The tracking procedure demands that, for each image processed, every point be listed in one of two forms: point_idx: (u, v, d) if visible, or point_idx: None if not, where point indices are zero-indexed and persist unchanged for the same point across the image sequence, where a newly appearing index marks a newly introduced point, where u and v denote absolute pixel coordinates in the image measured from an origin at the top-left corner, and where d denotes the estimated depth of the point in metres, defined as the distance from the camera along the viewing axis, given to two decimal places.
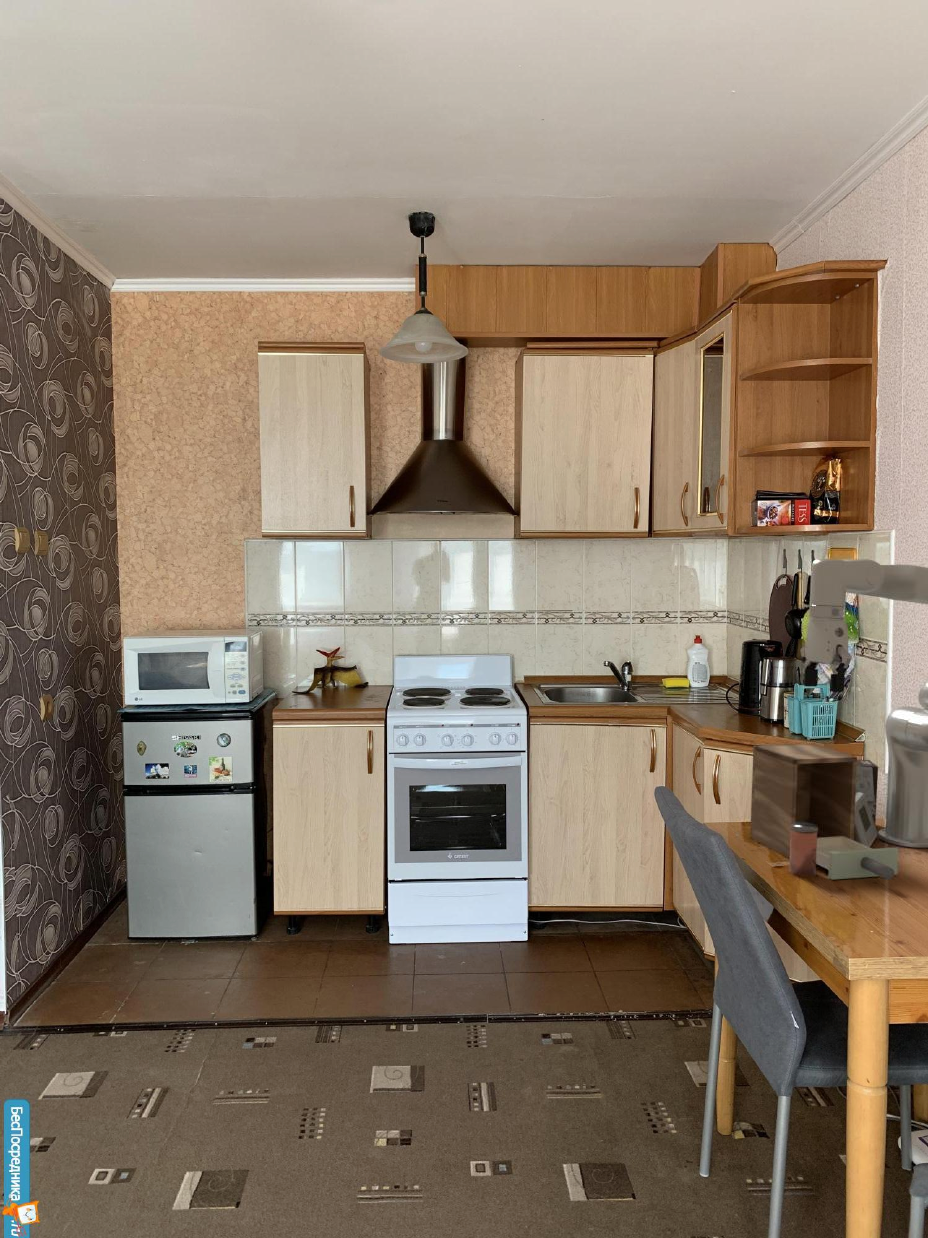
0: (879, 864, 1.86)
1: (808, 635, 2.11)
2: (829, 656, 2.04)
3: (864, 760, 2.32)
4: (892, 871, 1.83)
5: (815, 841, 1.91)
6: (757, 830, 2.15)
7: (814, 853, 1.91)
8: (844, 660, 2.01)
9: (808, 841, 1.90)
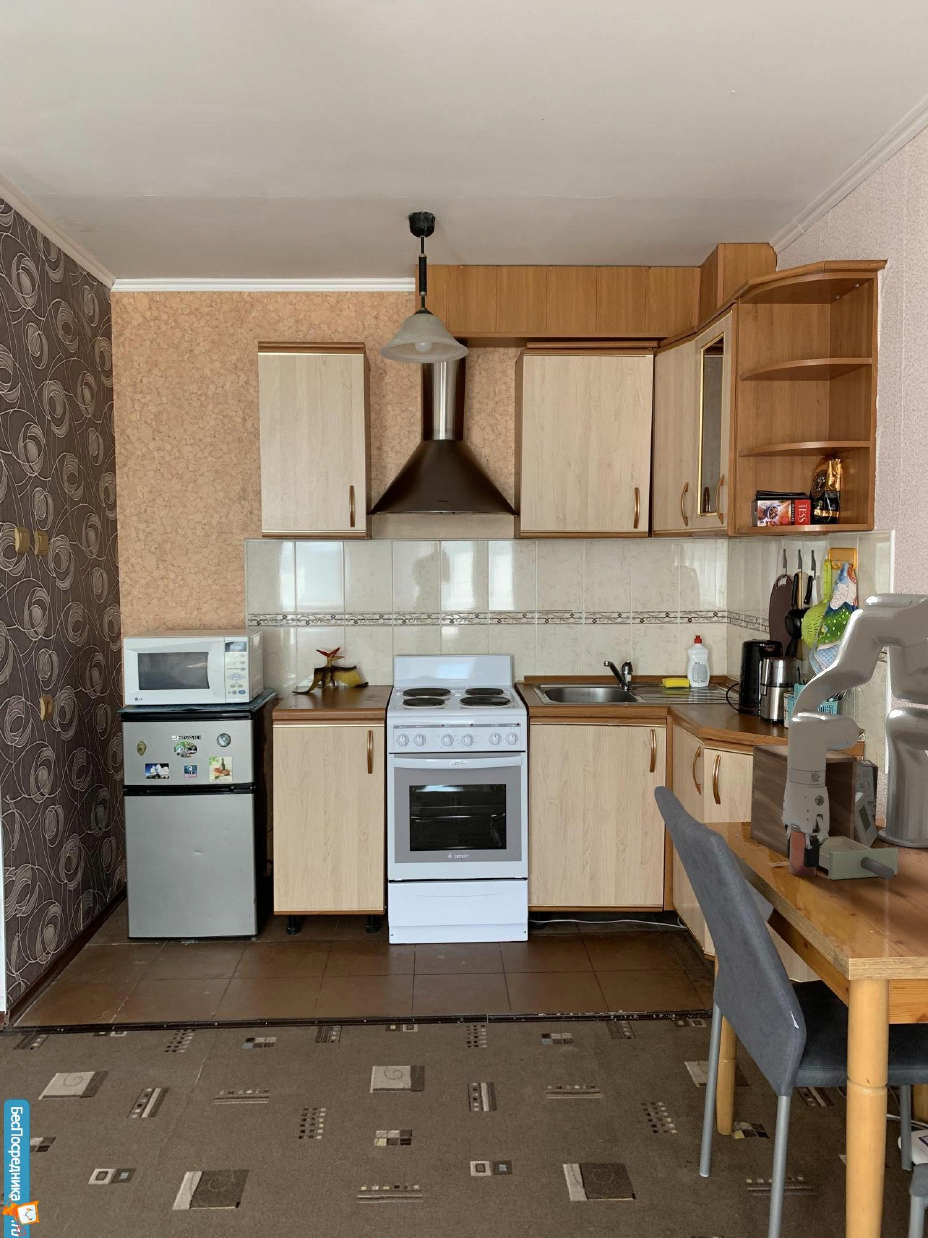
0: (879, 864, 1.86)
1: (786, 797, 1.95)
2: (808, 826, 1.87)
3: (864, 760, 2.32)
4: (892, 871, 1.83)
5: None
6: (757, 830, 2.15)
7: None
8: (820, 838, 1.86)
9: None
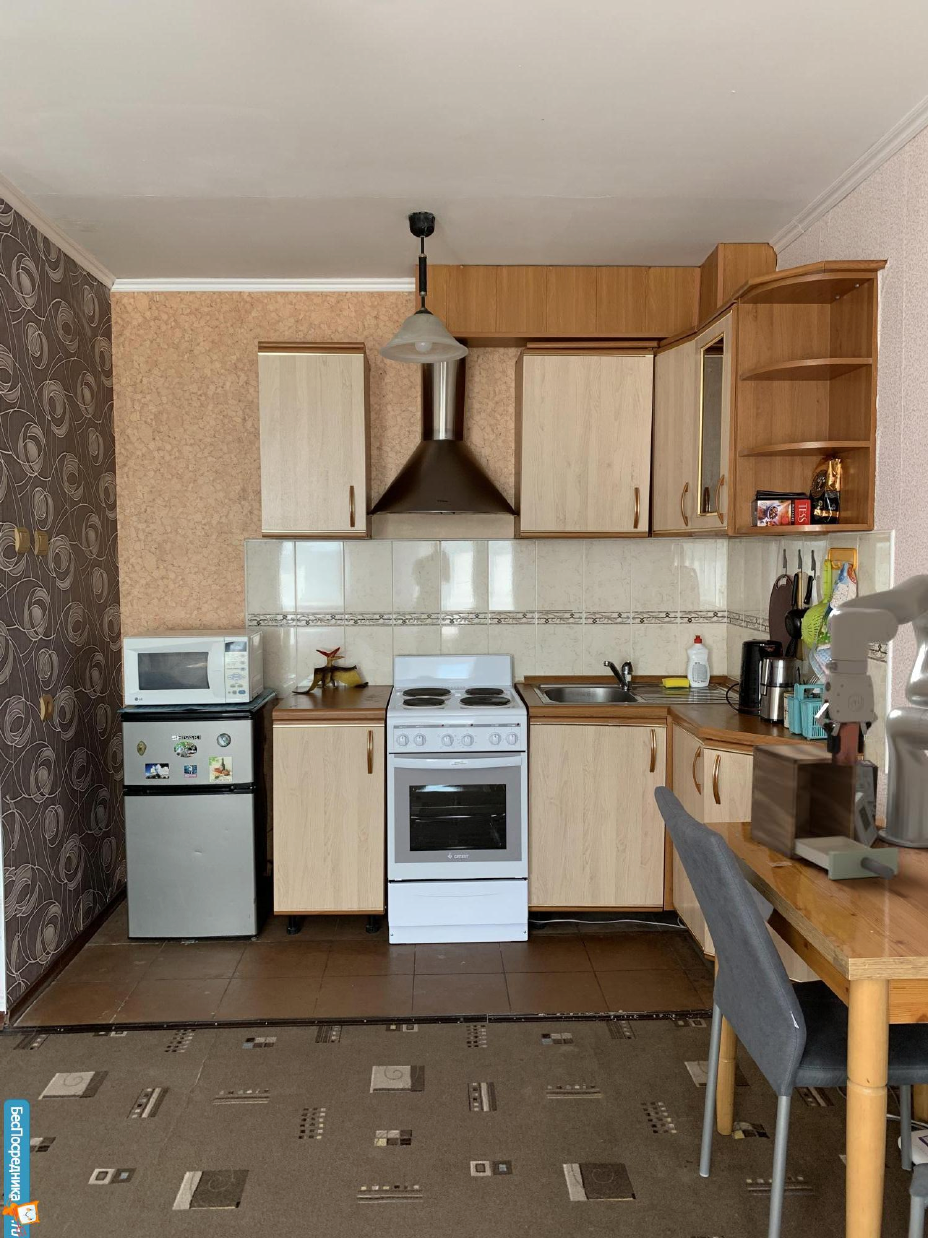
0: (879, 864, 1.86)
1: None
2: None
3: (864, 760, 2.32)
4: (892, 871, 1.83)
5: (840, 730, 1.95)
6: (757, 830, 2.15)
7: None
8: None
9: None
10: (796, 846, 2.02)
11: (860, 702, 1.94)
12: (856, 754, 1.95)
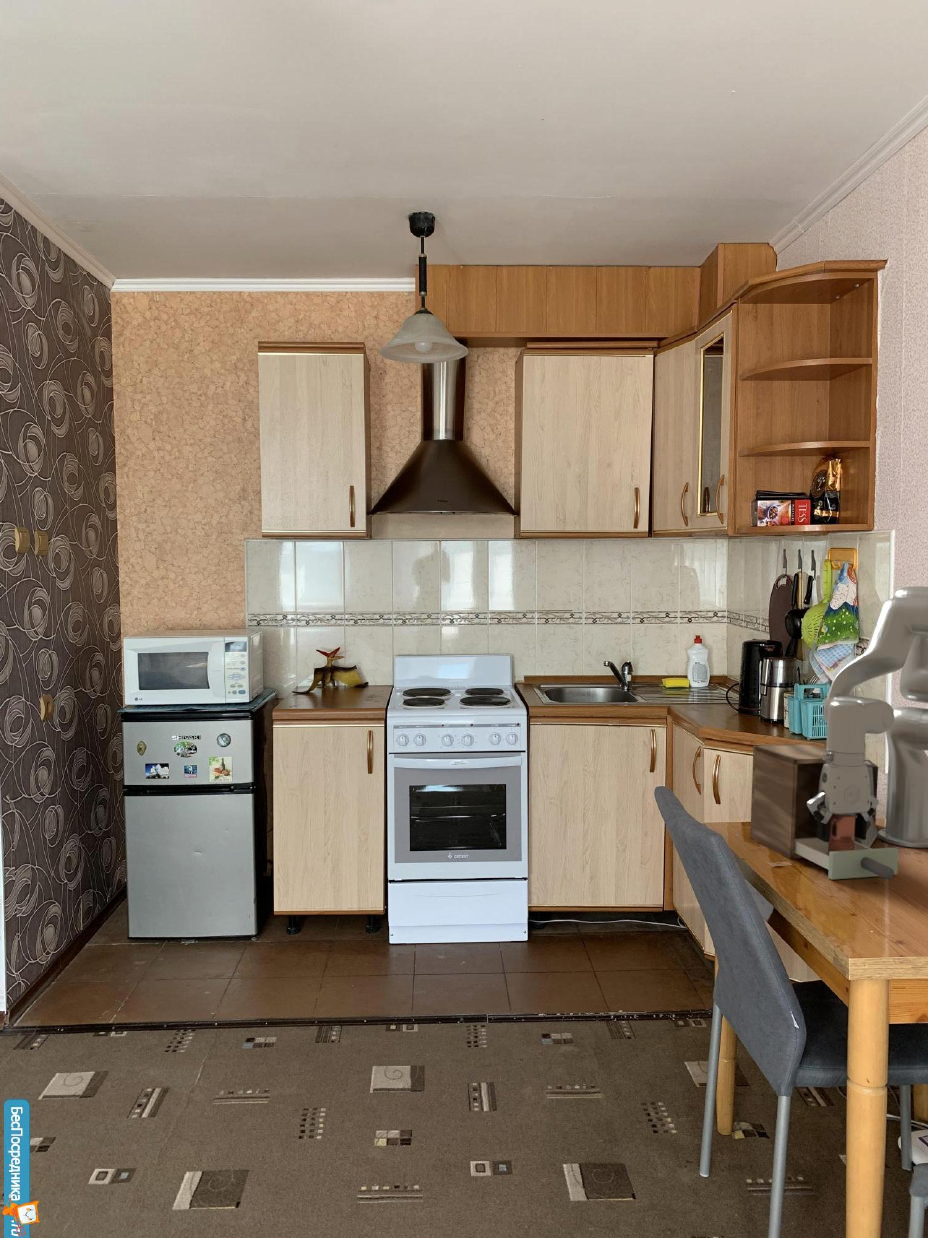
0: (879, 864, 1.86)
1: None
2: None
3: (864, 760, 2.32)
4: (892, 871, 1.84)
5: (836, 824, 1.96)
6: (757, 830, 2.15)
7: (835, 835, 1.96)
8: None
9: (830, 821, 1.97)
10: (796, 846, 2.02)
11: (856, 794, 1.95)
12: (852, 847, 1.96)
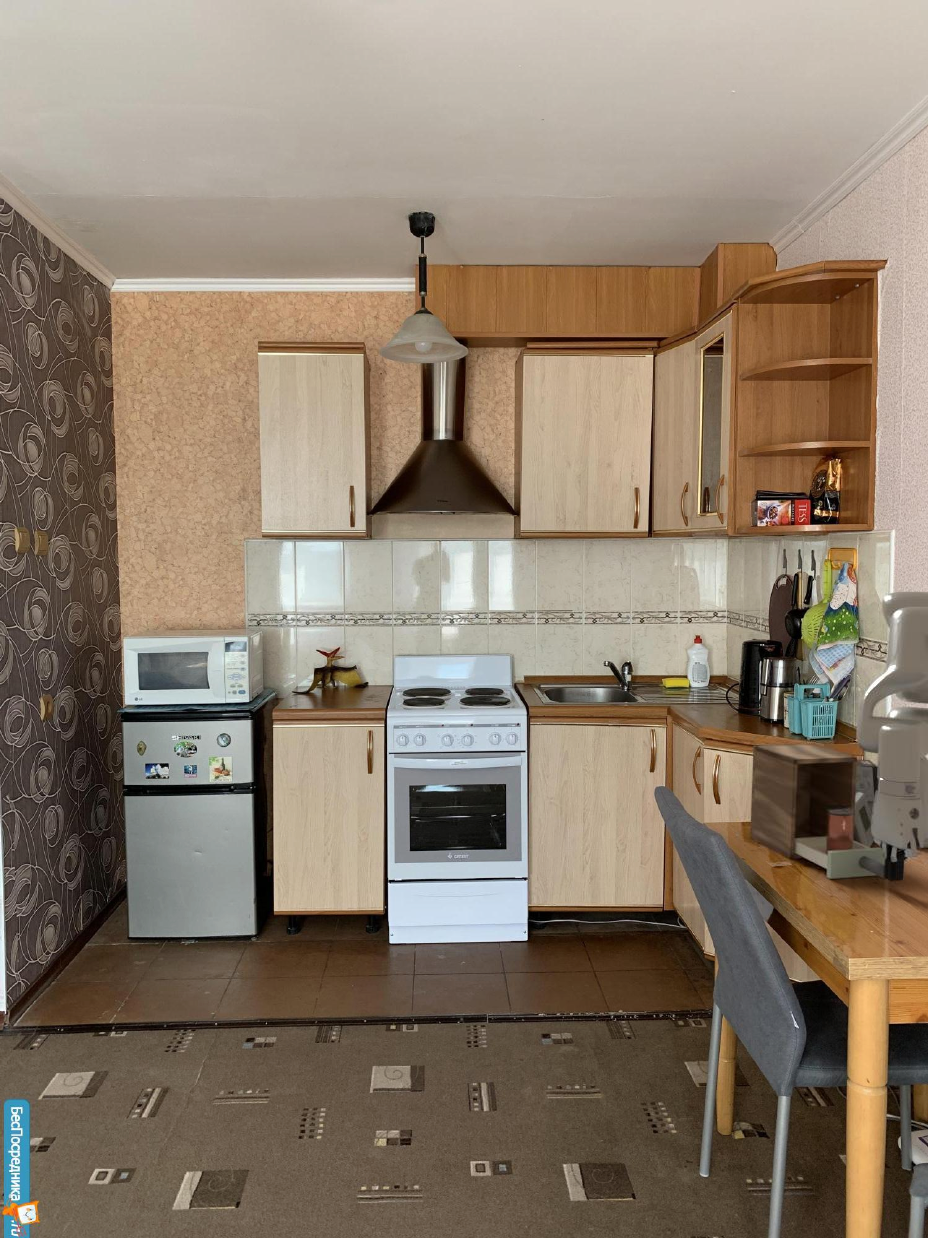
0: (877, 863, 1.86)
1: (875, 810, 1.84)
2: (903, 841, 1.77)
3: (864, 760, 2.32)
4: None
5: (833, 823, 1.96)
6: (757, 830, 2.15)
7: (832, 834, 1.97)
8: (907, 854, 1.78)
9: (827, 820, 1.98)
10: (795, 845, 2.03)
11: None
12: (850, 846, 1.96)
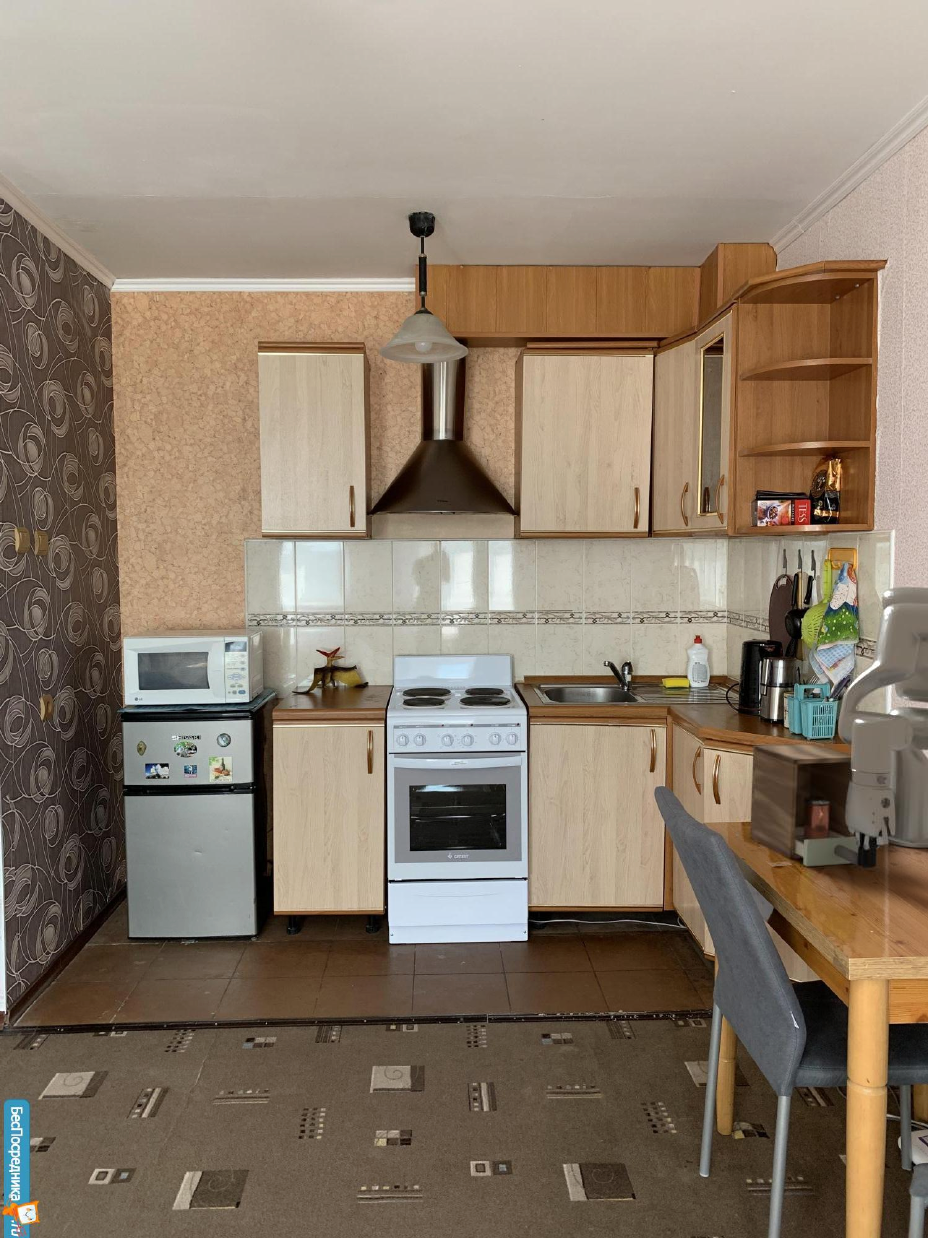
0: (851, 851, 1.94)
1: (849, 800, 1.92)
2: (874, 829, 1.85)
3: None
4: None
5: (810, 813, 2.04)
6: (757, 830, 2.15)
7: (809, 824, 2.05)
8: (878, 842, 1.85)
9: (805, 810, 2.06)
10: None
11: None
12: (826, 836, 2.04)
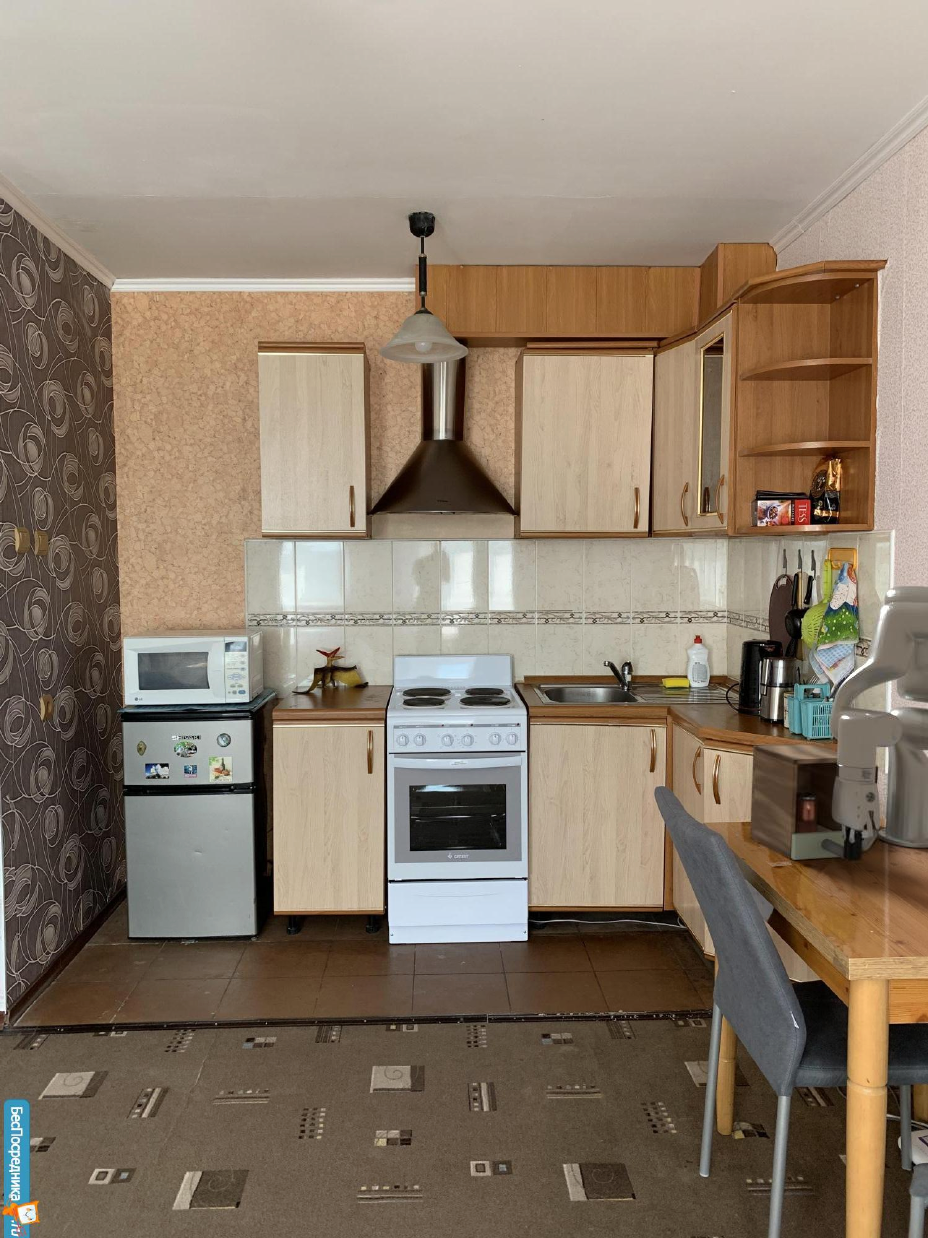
0: (838, 845, 1.98)
1: (835, 794, 1.96)
2: (859, 823, 1.89)
3: None
4: None
5: (798, 808, 2.09)
6: (757, 830, 2.15)
7: (797, 818, 2.09)
8: (864, 835, 1.90)
9: None
10: None
11: None
12: (814, 830, 2.08)
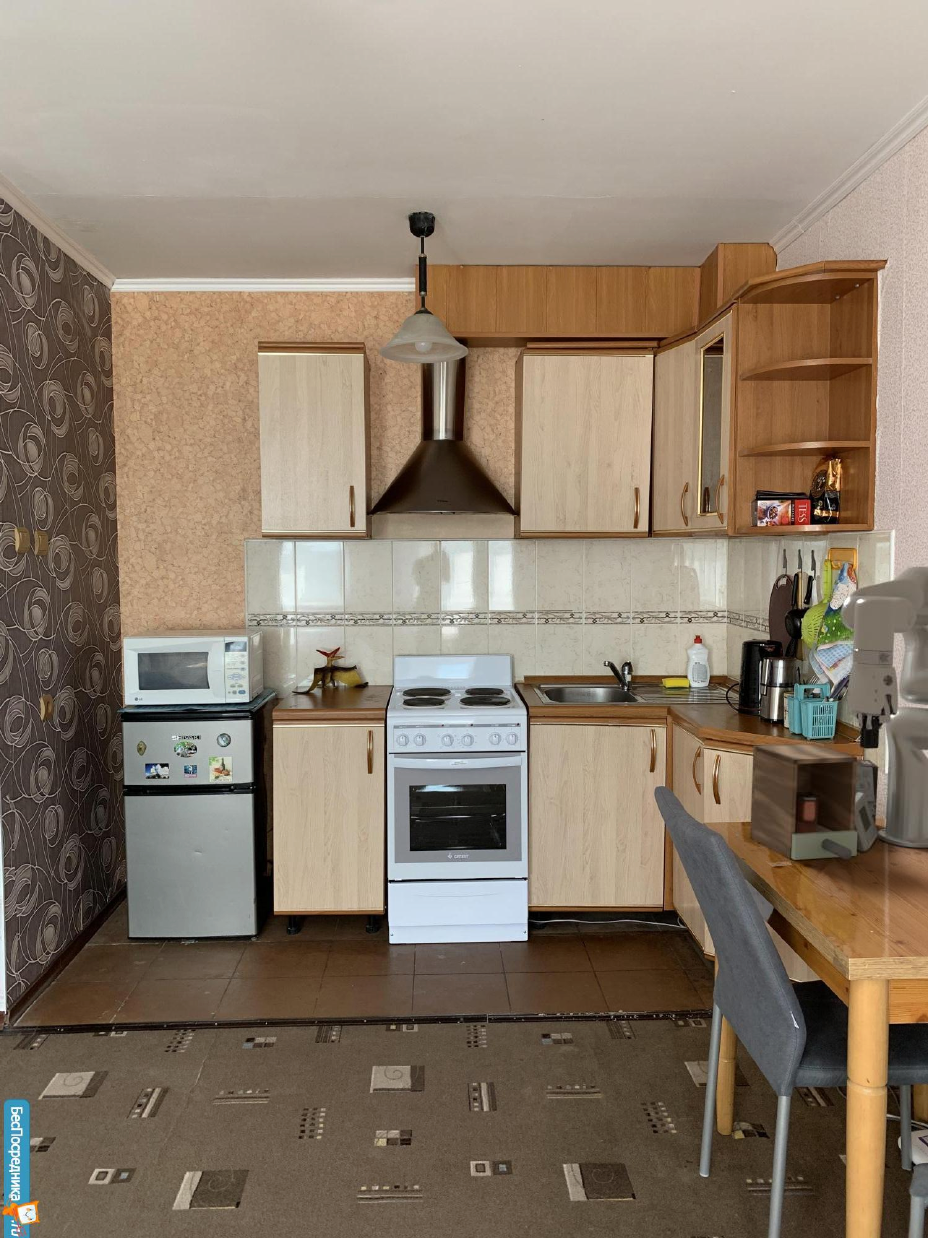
0: (838, 845, 1.98)
1: (851, 682, 1.91)
2: (877, 707, 1.84)
3: (864, 760, 2.32)
4: (850, 851, 1.96)
5: (799, 808, 2.08)
6: (757, 830, 2.15)
7: (798, 818, 2.09)
8: (881, 720, 1.85)
9: None
10: None
11: None
12: (814, 831, 2.08)
